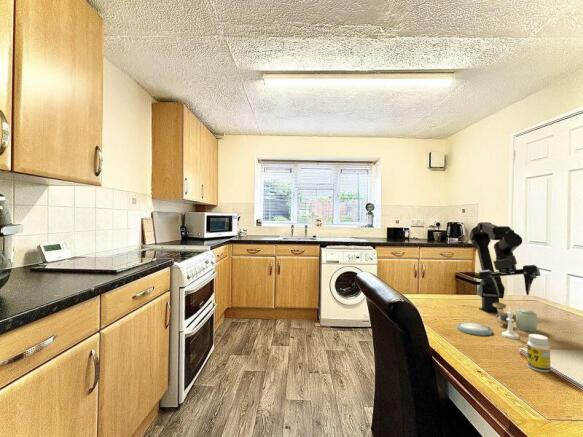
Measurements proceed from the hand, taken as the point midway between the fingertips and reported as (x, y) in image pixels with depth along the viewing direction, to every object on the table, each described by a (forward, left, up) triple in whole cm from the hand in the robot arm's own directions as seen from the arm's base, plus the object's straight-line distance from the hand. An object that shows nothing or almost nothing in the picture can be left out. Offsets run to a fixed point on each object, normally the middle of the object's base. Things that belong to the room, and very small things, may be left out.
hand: (512, 295), depth 113 cm
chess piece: (+8, -8, -12) cm, 17 cm away
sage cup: (+2, +4, -12) cm, 12 cm away
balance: (-7, +2, -12) cm, 14 cm away
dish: (+1, -16, -12) cm, 20 cm away
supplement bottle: (+30, -20, -12) cm, 38 cm away
